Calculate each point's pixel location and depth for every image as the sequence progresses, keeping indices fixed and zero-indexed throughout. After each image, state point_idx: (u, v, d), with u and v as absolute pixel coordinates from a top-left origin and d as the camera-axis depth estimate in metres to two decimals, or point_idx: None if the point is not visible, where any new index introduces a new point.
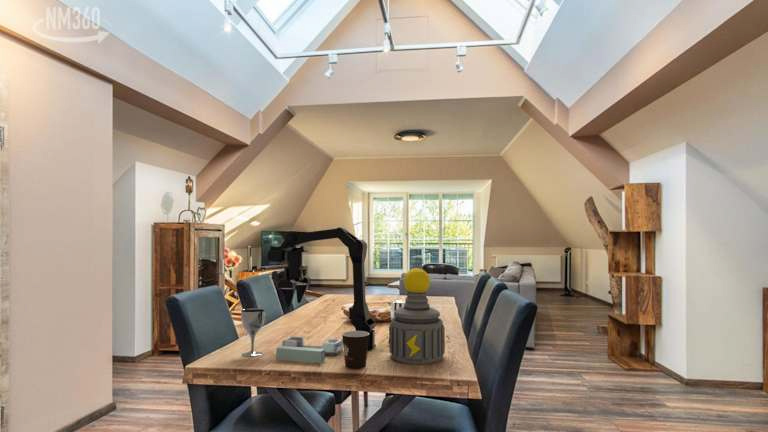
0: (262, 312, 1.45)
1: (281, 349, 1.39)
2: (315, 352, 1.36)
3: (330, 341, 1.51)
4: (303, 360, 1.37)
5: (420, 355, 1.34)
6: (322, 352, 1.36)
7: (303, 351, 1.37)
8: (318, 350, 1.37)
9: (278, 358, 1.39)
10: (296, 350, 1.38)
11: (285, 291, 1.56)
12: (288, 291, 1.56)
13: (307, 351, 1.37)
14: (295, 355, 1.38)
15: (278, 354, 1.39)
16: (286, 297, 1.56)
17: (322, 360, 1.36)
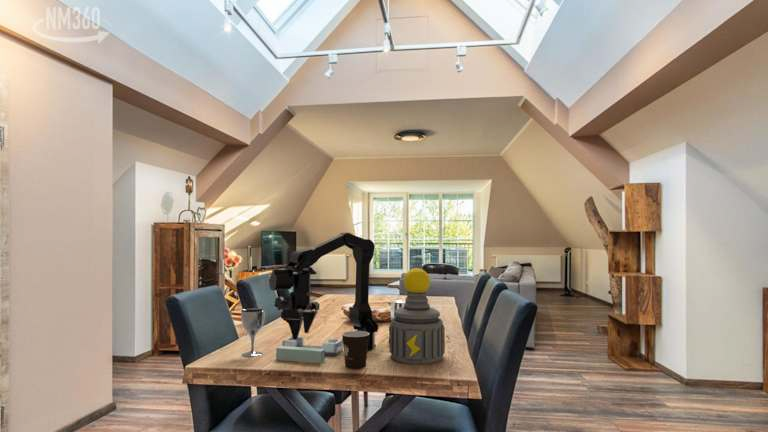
0: (262, 312, 1.45)
1: (281, 349, 1.39)
2: (315, 352, 1.36)
3: (330, 341, 1.51)
4: (303, 360, 1.37)
5: (420, 355, 1.34)
6: (322, 352, 1.36)
7: (303, 351, 1.37)
8: (318, 350, 1.37)
9: (278, 358, 1.39)
10: (296, 350, 1.38)
11: (291, 321, 1.34)
12: (294, 321, 1.34)
13: (307, 351, 1.37)
14: (295, 355, 1.38)
15: (277, 354, 1.39)
16: (292, 328, 1.34)
17: (322, 360, 1.36)
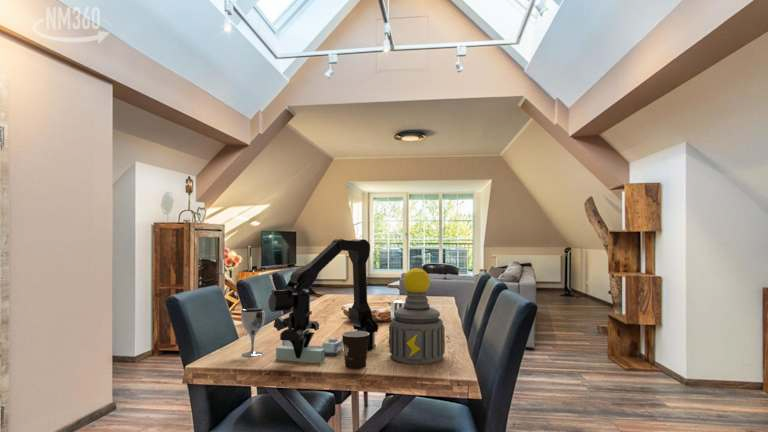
0: (262, 312, 1.45)
1: (281, 349, 1.39)
2: (315, 352, 1.36)
3: (330, 341, 1.51)
4: (303, 360, 1.37)
5: (420, 355, 1.34)
6: (322, 352, 1.37)
7: (303, 351, 1.37)
8: (318, 350, 1.37)
9: (278, 358, 1.39)
10: None
11: (294, 341, 1.36)
12: (297, 341, 1.36)
13: (307, 351, 1.37)
14: (295, 355, 1.38)
15: (277, 354, 1.39)
16: (295, 348, 1.36)
17: (322, 360, 1.36)
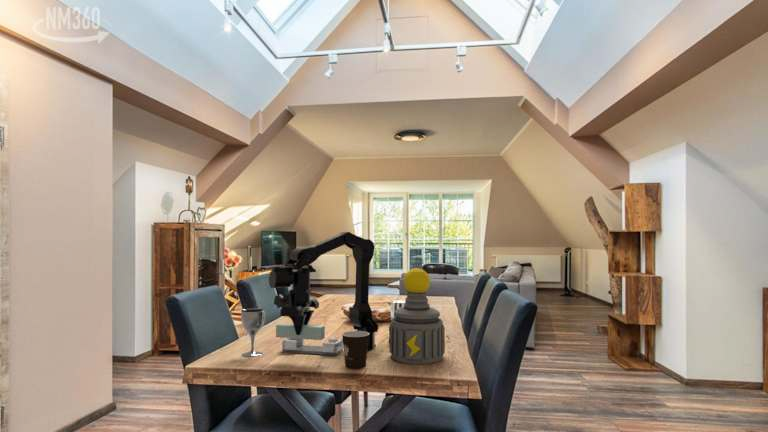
0: (262, 312, 1.45)
1: (281, 326, 1.39)
2: (315, 328, 1.36)
3: (330, 341, 1.51)
4: (303, 336, 1.37)
5: (420, 355, 1.34)
6: (322, 328, 1.37)
7: (303, 327, 1.37)
8: (318, 326, 1.37)
9: (278, 335, 1.39)
10: None
11: (294, 317, 1.36)
12: (297, 317, 1.37)
13: (307, 327, 1.37)
14: (295, 331, 1.38)
15: (277, 331, 1.39)
16: (295, 324, 1.37)
17: (322, 336, 1.37)
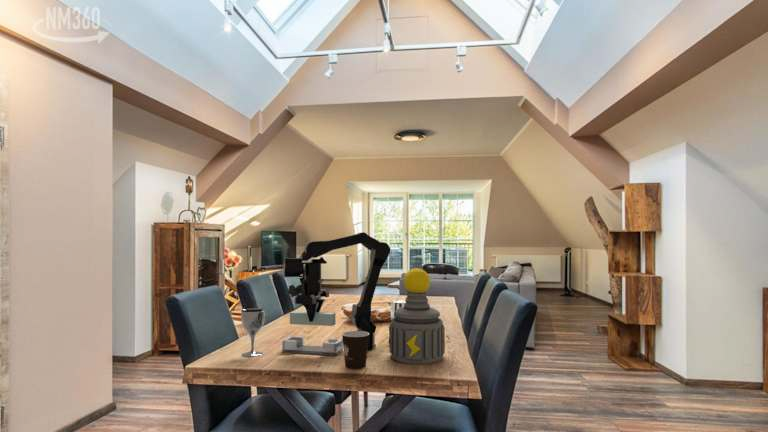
0: (262, 312, 1.45)
1: (294, 314, 1.49)
2: (327, 315, 1.47)
3: (330, 341, 1.51)
4: (316, 323, 1.47)
5: (420, 355, 1.34)
6: (333, 315, 1.47)
7: (315, 315, 1.48)
8: (329, 313, 1.48)
9: (292, 322, 1.49)
10: None
11: (307, 305, 1.47)
12: (310, 305, 1.47)
13: (319, 314, 1.47)
14: (308, 318, 1.48)
15: (291, 319, 1.50)
16: (308, 312, 1.47)
17: (333, 322, 1.47)
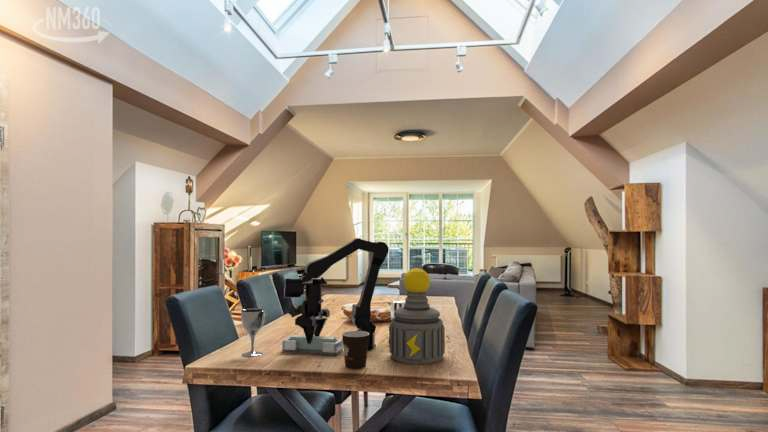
0: (262, 312, 1.45)
1: (295, 337, 1.50)
2: (327, 340, 1.47)
3: None
4: (316, 347, 1.48)
5: (420, 355, 1.34)
6: (333, 340, 1.48)
7: (316, 339, 1.48)
8: (330, 338, 1.48)
9: None
10: None
11: (305, 327, 1.45)
12: (308, 327, 1.45)
13: (319, 339, 1.48)
14: None
15: None
16: (306, 334, 1.45)
17: None
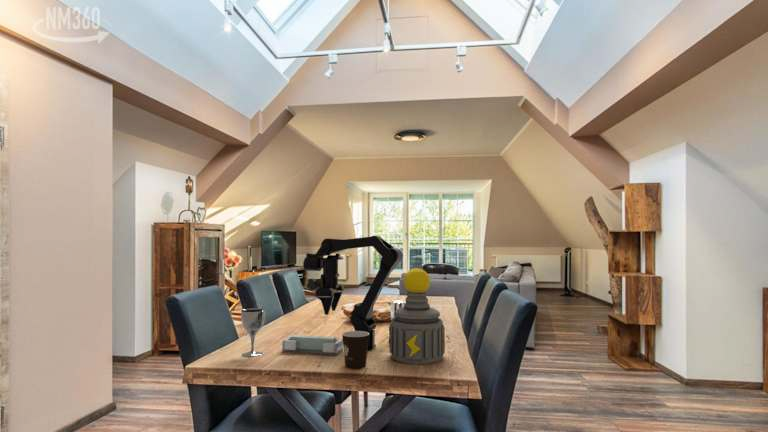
0: (262, 312, 1.45)
1: (295, 337, 1.50)
2: (327, 340, 1.47)
3: None
4: (316, 347, 1.48)
5: (420, 355, 1.34)
6: (333, 340, 1.48)
7: (316, 339, 1.48)
8: (330, 338, 1.48)
9: None
10: (309, 338, 1.48)
11: (323, 299, 1.54)
12: (326, 299, 1.55)
13: (319, 339, 1.48)
14: (308, 343, 1.48)
15: None
16: (324, 305, 1.55)
17: None
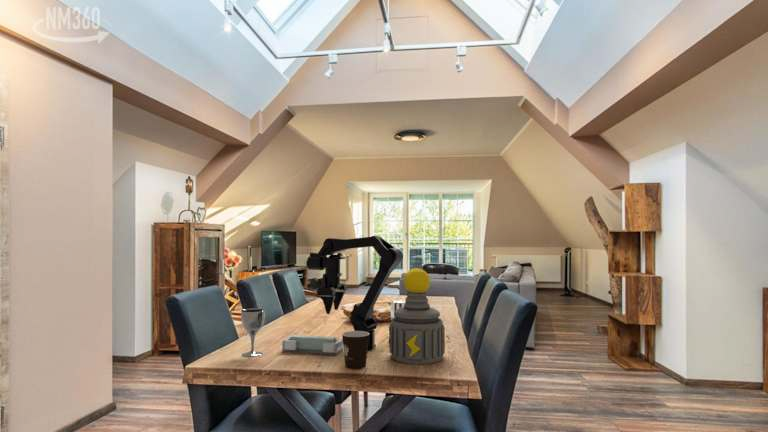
0: (262, 312, 1.45)
1: (295, 337, 1.50)
2: (327, 340, 1.47)
3: None
4: (316, 347, 1.48)
5: (420, 355, 1.34)
6: (333, 340, 1.48)
7: (316, 339, 1.48)
8: (330, 338, 1.48)
9: None
10: (309, 338, 1.48)
11: (324, 298, 1.56)
12: (327, 298, 1.56)
13: (319, 339, 1.48)
14: (308, 343, 1.48)
15: None
16: (325, 304, 1.56)
17: None
